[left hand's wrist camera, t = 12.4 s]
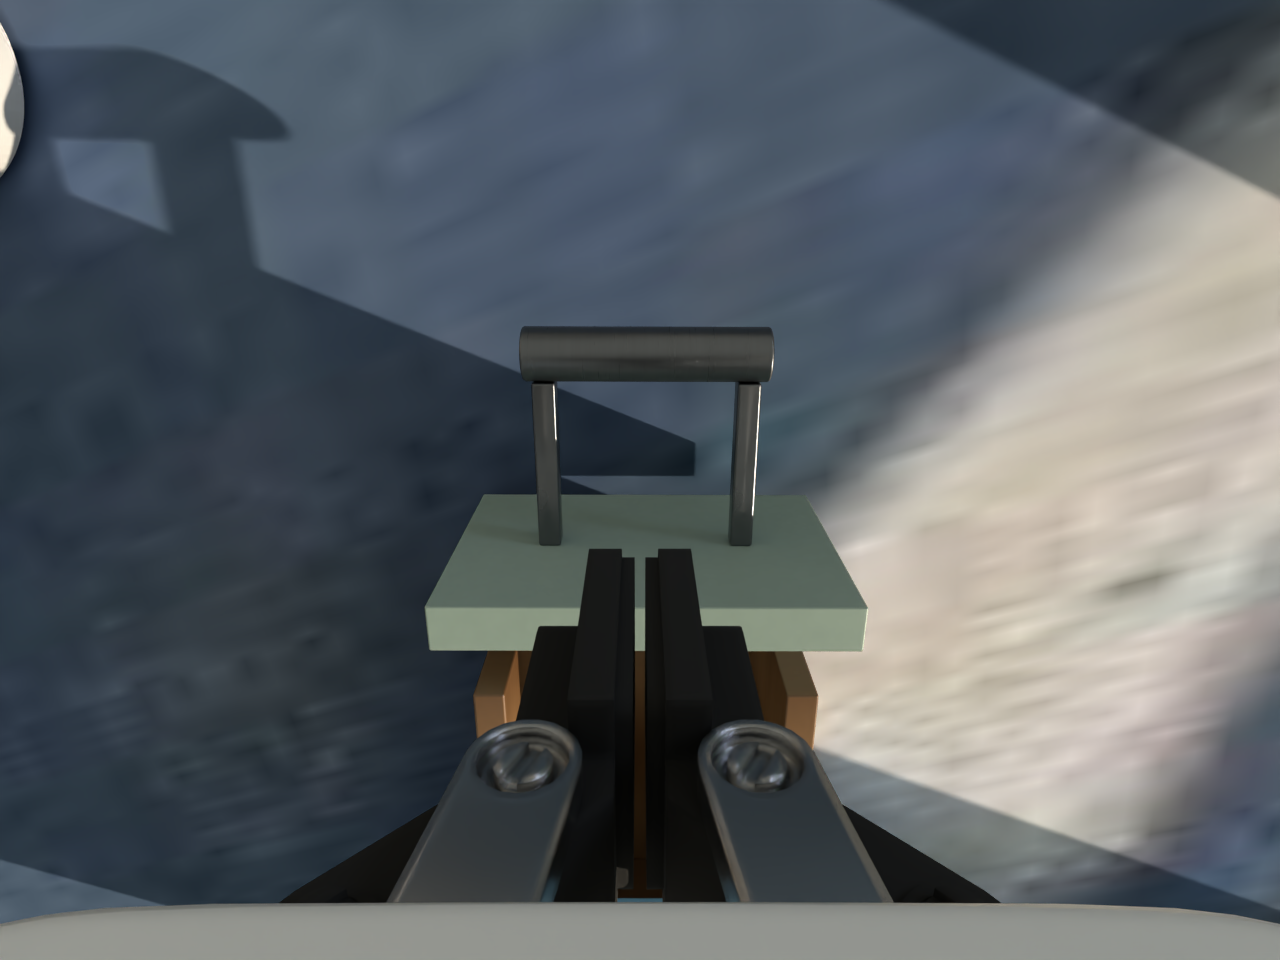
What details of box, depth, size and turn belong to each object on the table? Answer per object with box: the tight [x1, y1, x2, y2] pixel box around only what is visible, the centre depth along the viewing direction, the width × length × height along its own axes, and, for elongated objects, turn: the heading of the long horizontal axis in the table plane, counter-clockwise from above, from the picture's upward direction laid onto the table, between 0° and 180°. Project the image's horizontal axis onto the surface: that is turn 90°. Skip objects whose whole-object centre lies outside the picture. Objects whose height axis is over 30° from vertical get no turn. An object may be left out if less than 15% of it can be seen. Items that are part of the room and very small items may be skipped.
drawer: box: [425, 326, 868, 898], centre depth 22 cm, size 21×10×7 cm, turn 0°
